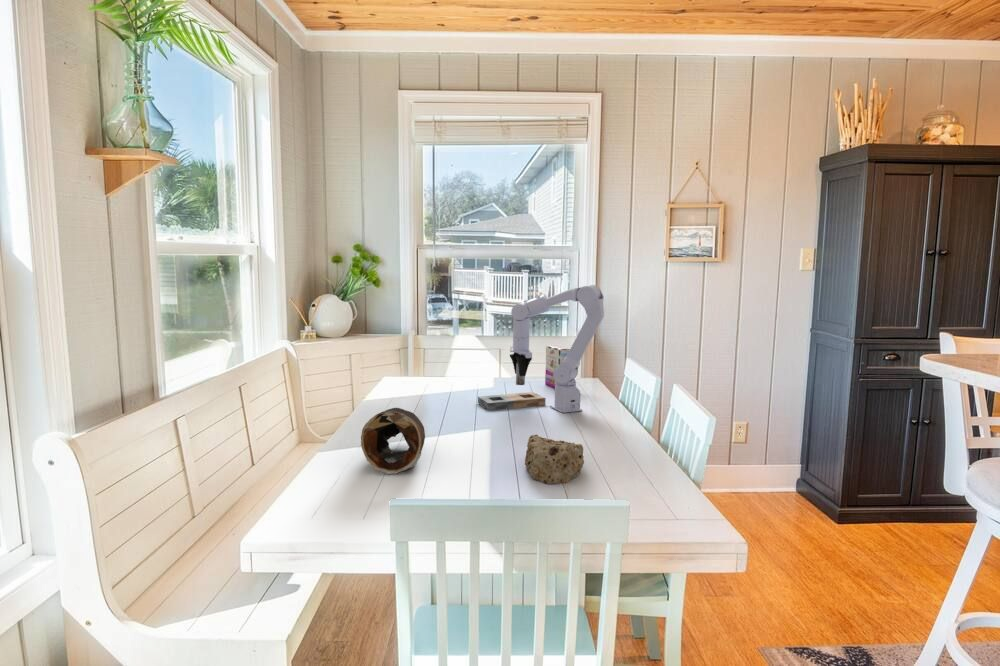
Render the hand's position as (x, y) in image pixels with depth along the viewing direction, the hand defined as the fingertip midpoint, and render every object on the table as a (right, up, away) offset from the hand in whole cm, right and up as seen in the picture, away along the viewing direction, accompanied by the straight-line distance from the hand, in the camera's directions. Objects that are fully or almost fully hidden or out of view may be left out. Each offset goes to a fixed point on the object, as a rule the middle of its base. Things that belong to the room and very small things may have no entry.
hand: (520, 374), depth 213 cm
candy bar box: (+16, -7, +29) cm, 34 cm away
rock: (+6, -20, -65) cm, 68 cm away
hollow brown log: (-34, -18, -58) cm, 70 cm away
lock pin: (0, -3, 0) cm, 3 cm away
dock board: (-3, -11, 0) cm, 11 cm away
